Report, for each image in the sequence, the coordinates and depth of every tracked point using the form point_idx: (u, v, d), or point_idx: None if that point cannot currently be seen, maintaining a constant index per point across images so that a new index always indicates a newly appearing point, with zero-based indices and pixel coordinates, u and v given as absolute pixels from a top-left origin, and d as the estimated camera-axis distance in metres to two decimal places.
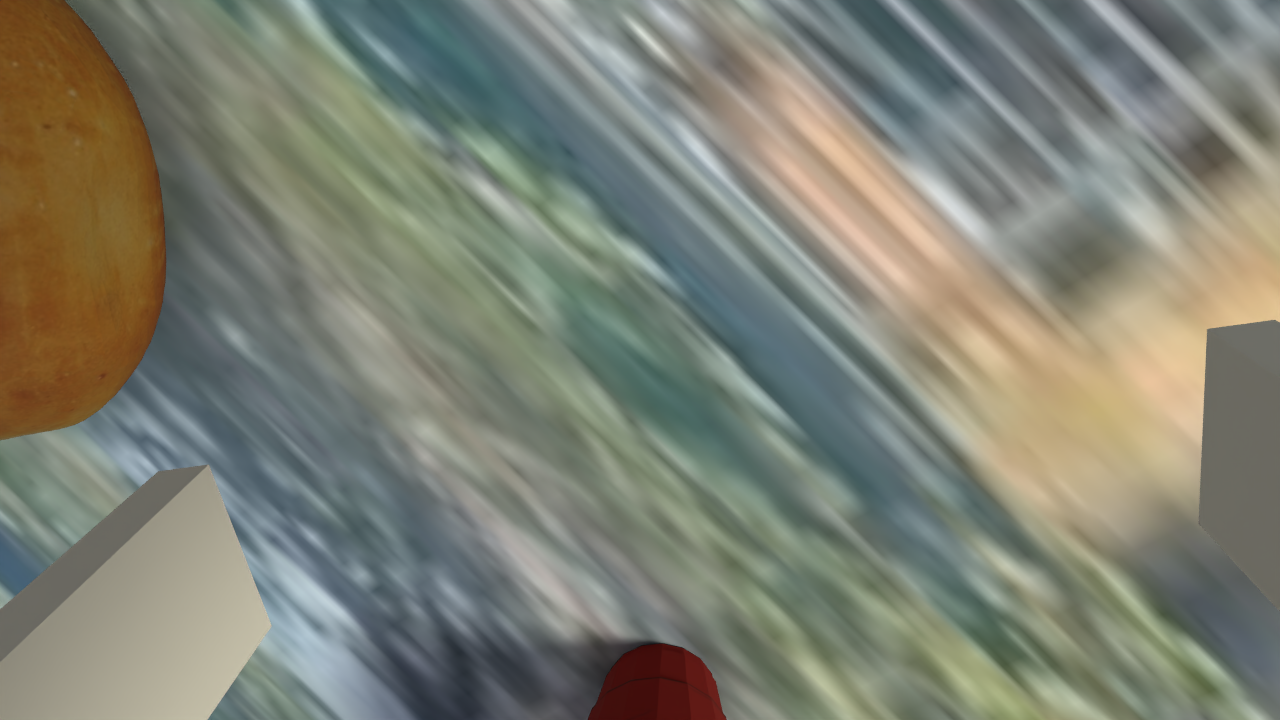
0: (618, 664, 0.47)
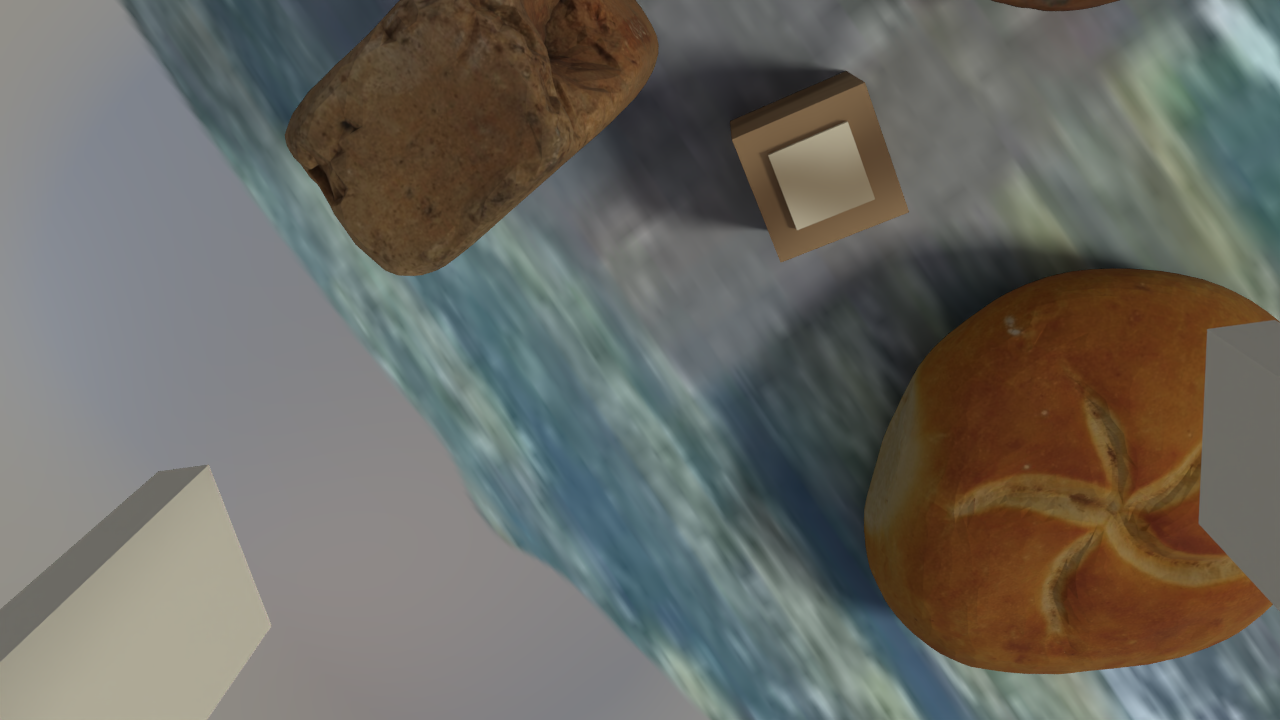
0: None
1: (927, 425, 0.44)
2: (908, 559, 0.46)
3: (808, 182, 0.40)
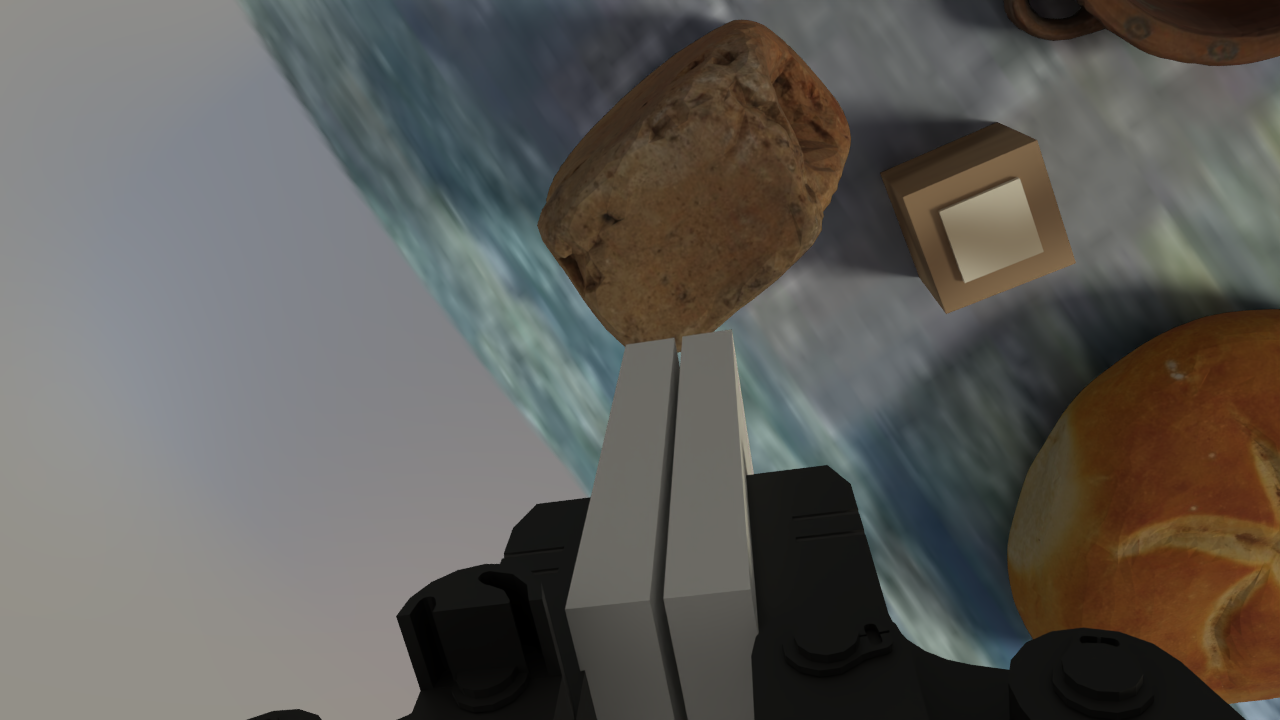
0: None
1: (1086, 467, 0.45)
2: (1066, 598, 0.47)
3: (978, 237, 0.41)
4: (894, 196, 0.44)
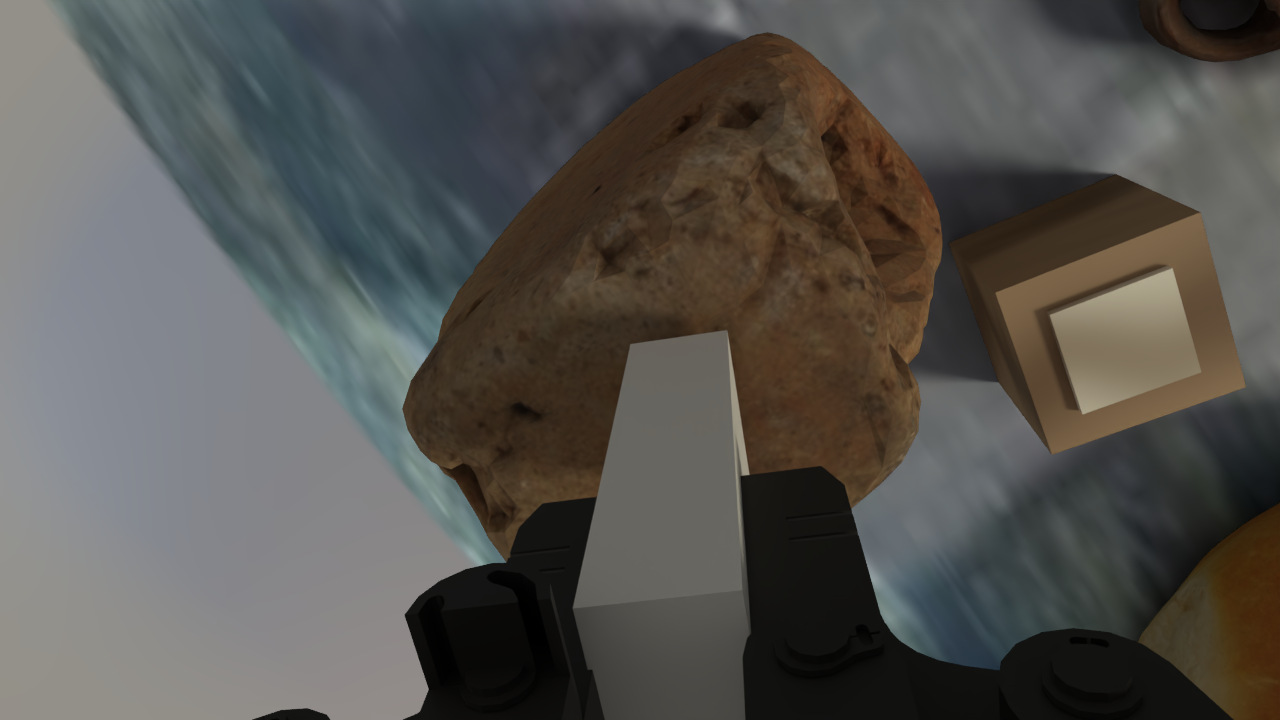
0: None
1: (1243, 662, 0.32)
2: None
3: (1105, 351, 0.28)
4: (973, 281, 0.31)
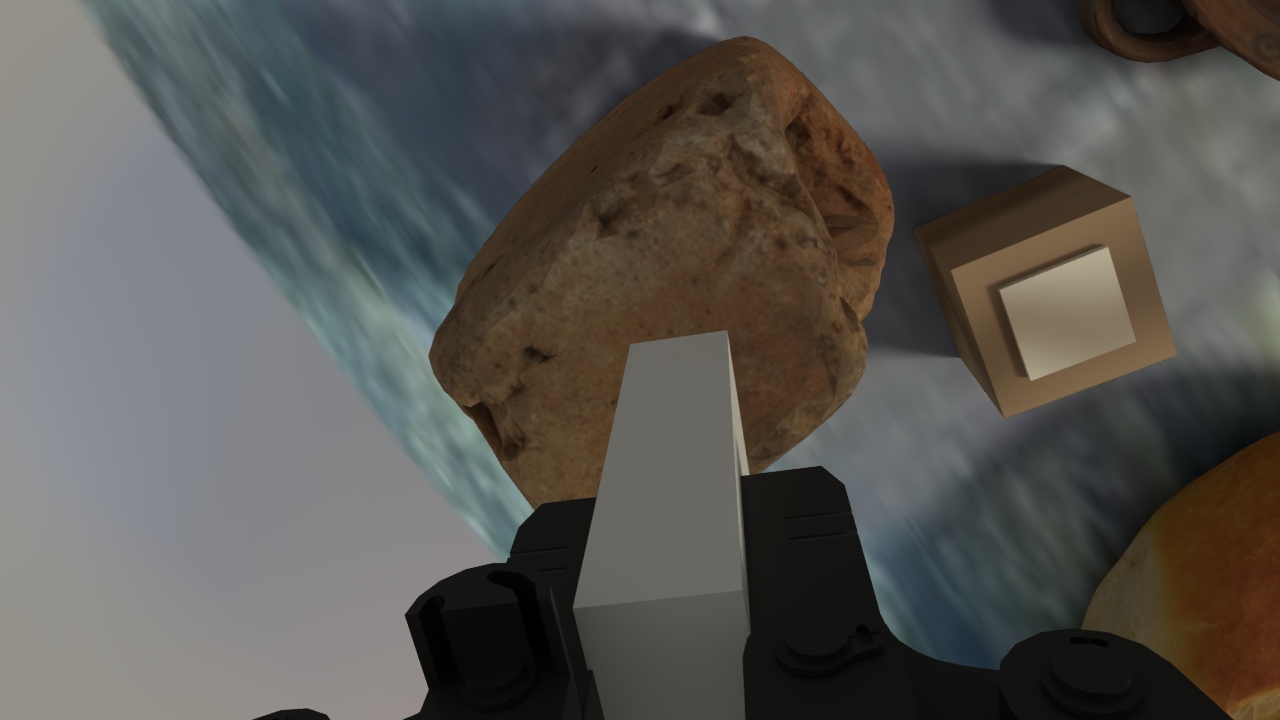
0: None
1: (1181, 609, 0.35)
2: None
3: (1050, 322, 0.31)
4: (934, 262, 0.34)
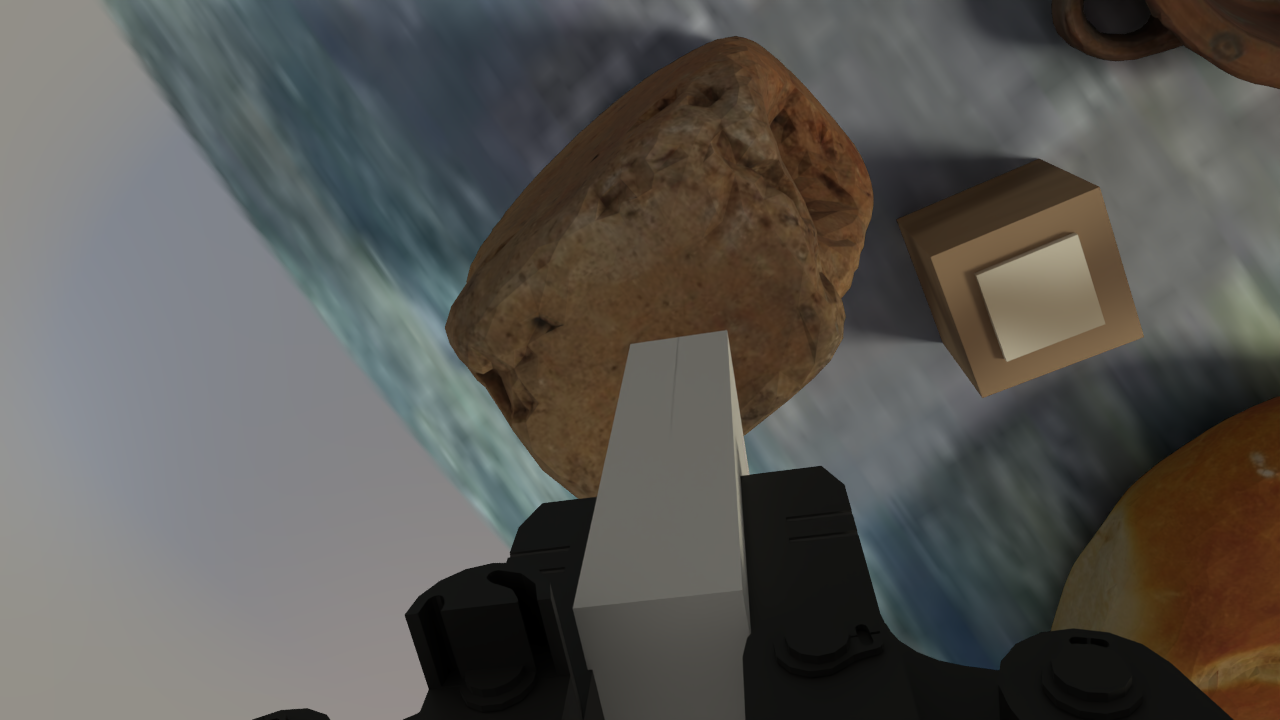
0: None
1: (1151, 579, 0.37)
2: None
3: (1024, 306, 0.33)
4: (916, 250, 0.36)
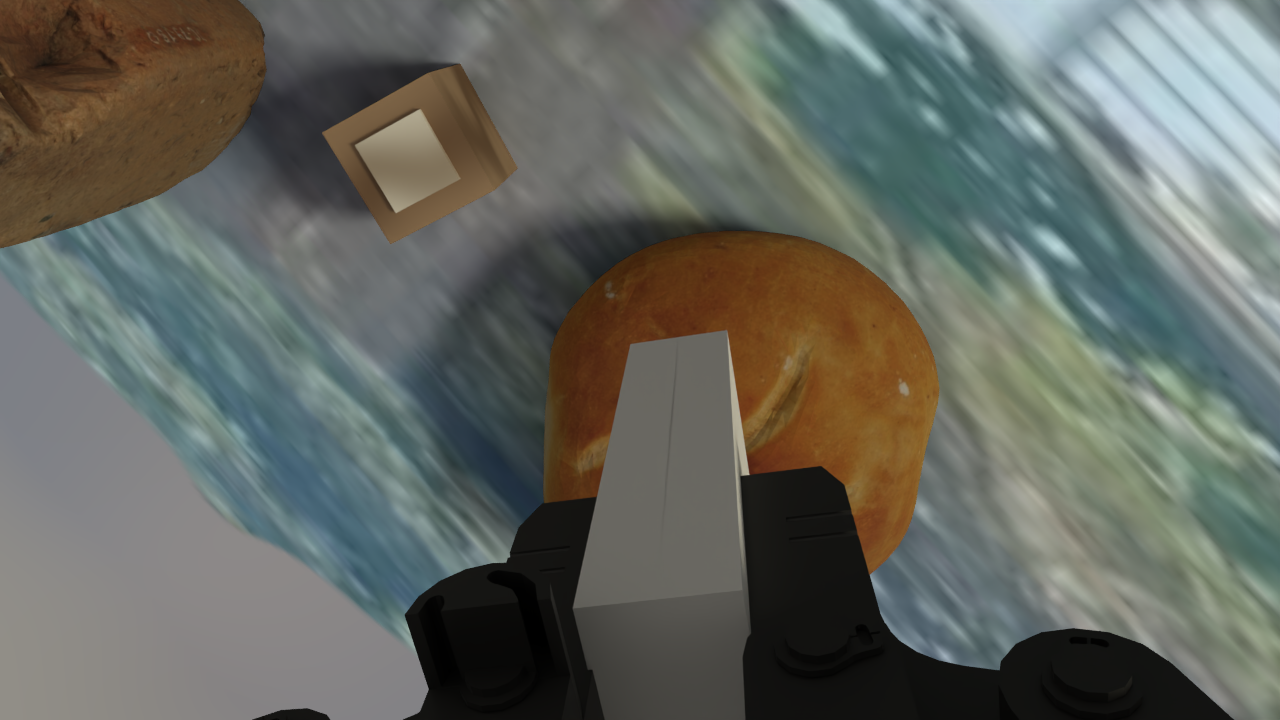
0: None
1: (553, 388, 0.47)
2: None
3: (396, 168, 0.43)
4: None
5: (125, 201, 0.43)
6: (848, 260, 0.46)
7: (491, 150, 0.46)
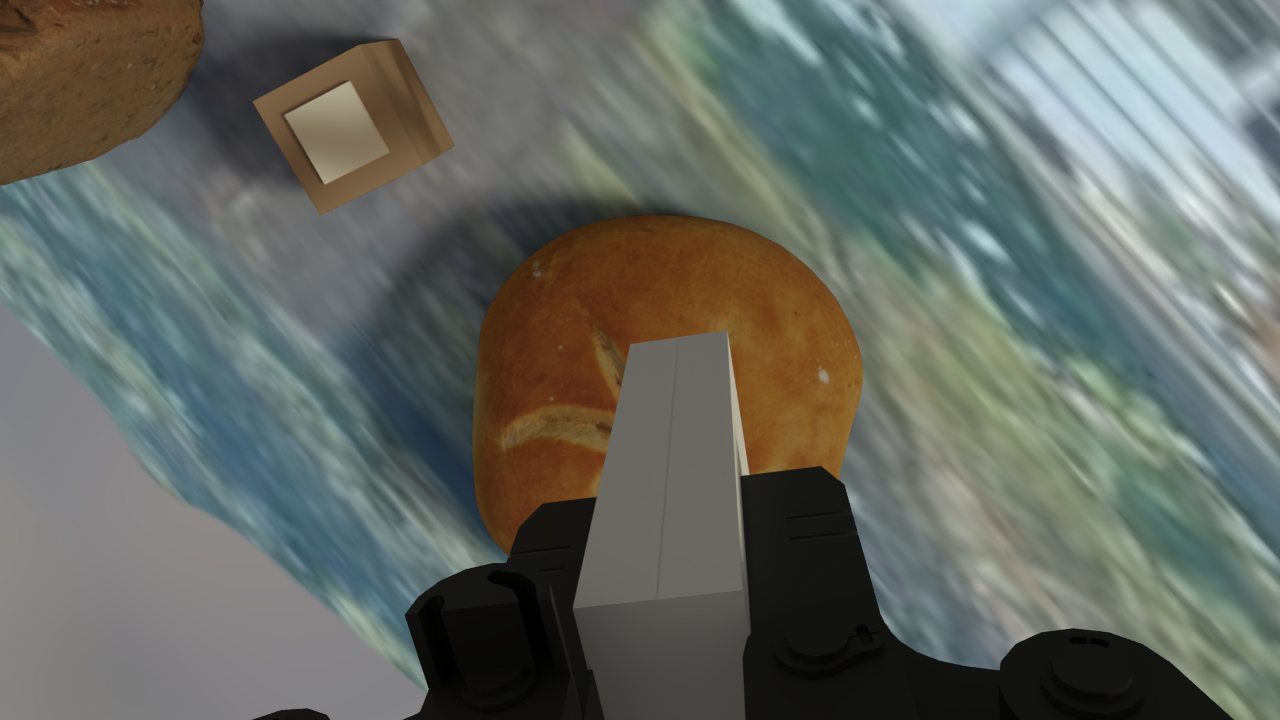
0: None
1: (481, 365, 0.48)
2: (482, 493, 0.49)
3: (325, 139, 0.44)
4: None
5: (53, 163, 0.43)
6: (775, 247, 0.46)
7: (425, 126, 0.46)
